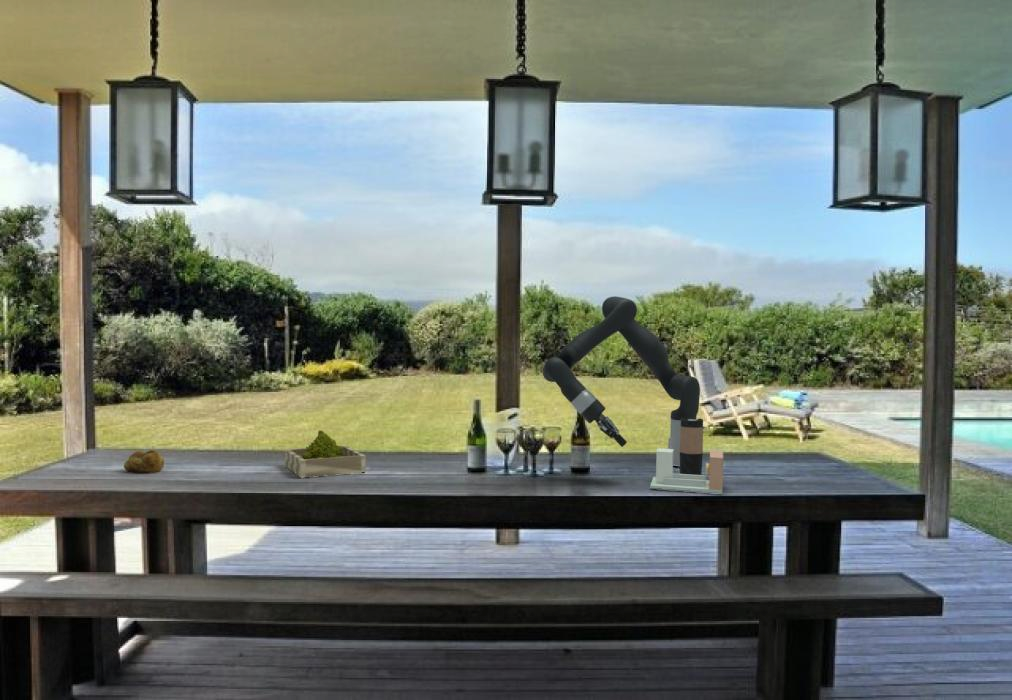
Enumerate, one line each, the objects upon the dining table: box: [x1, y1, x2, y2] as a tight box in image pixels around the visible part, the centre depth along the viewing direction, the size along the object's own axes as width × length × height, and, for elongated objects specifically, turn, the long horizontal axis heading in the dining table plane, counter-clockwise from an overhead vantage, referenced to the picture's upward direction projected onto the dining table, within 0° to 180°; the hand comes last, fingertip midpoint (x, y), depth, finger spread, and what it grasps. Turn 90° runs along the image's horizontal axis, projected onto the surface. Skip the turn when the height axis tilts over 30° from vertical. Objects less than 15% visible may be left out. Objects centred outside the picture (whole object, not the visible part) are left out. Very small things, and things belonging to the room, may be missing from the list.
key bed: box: [649, 449, 724, 494], centre depth 253 cm, size 22×14×12 cm, turn 75°
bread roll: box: [123, 449, 165, 474], centre depth 268 cm, size 13×10×8 cm
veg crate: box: [284, 445, 367, 479], centre depth 275 cm, size 23×22×6 cm
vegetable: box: [302, 430, 345, 460], centre depth 275 cm, size 15×16×15 cm
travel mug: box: [679, 418, 704, 475], centre depth 269 cm, size 8×8×20 cm
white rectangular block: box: [655, 447, 674, 483], centre depth 254 cm, size 5×6×10 cm
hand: (624, 444), depth 258 cm, fingers closed
